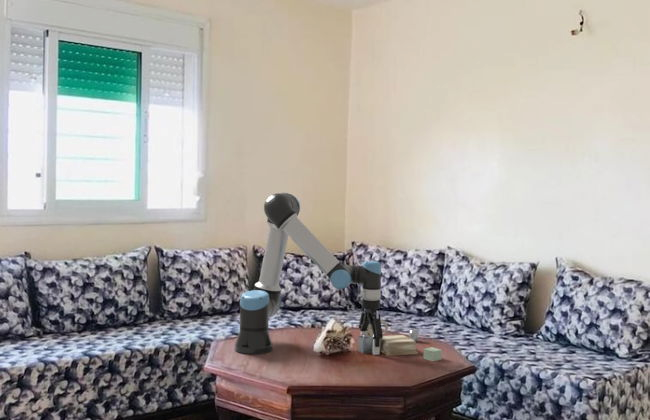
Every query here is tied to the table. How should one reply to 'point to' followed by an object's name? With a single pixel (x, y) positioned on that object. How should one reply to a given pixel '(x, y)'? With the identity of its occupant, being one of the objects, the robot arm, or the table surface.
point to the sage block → (432, 354)
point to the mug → (372, 331)
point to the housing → (366, 344)
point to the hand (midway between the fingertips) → (369, 350)
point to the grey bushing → (413, 334)
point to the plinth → (397, 345)
